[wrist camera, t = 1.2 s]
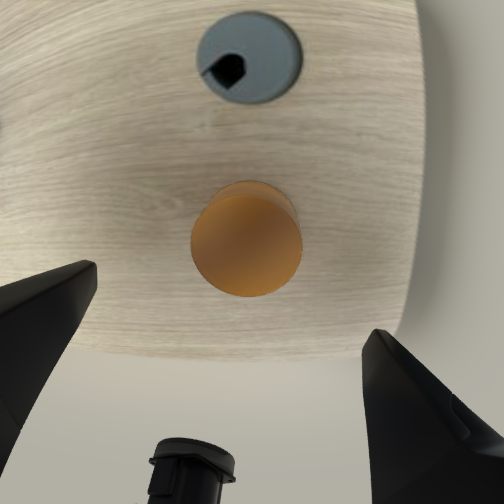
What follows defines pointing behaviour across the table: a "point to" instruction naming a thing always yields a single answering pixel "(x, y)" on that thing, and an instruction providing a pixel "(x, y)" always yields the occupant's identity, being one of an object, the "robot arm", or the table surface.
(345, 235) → the table surface
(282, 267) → the cylinder
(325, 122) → the table surface
